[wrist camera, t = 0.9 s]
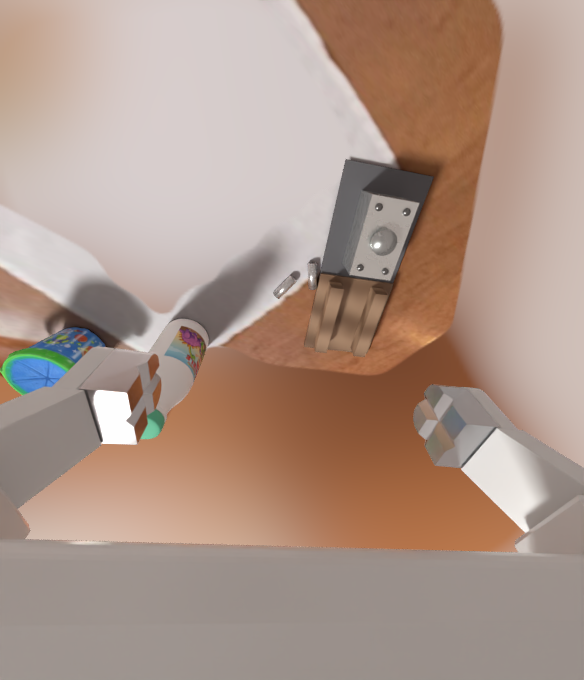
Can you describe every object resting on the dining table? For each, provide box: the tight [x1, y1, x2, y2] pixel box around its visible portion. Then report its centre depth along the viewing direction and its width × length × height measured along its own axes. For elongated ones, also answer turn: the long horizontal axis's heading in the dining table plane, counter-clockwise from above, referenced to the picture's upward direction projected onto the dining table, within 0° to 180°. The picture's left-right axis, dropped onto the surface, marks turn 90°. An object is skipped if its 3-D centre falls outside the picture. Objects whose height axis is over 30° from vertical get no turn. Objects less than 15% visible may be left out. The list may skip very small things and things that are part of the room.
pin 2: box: [308, 262, 317, 290], centre depth 43 cm, size 4×1×1 cm, turn 4°
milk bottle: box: [140, 319, 209, 439], centre depth 40 cm, size 8×8×20 cm
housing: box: [343, 190, 419, 281], centre depth 37 cm, size 10×6×6 cm, turn 171°
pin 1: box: [273, 275, 297, 299], centre depth 44 cm, size 4×1×1 cm
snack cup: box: [0, 327, 105, 395], centre depth 44 cm, size 16×10×10 cm
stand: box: [304, 273, 394, 357], centre depth 46 cm, size 14×12×3 cm
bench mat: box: [319, 159, 434, 283], centre depth 40 cm, size 16×12×1 cm
